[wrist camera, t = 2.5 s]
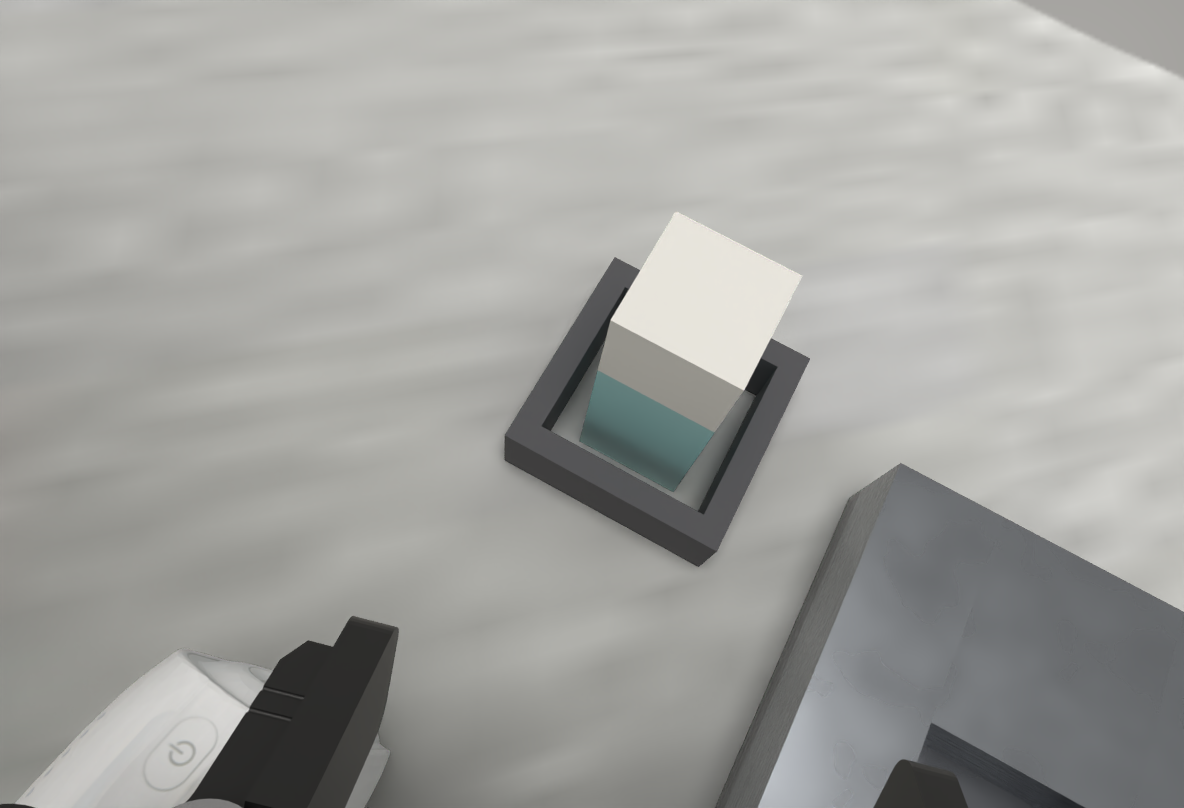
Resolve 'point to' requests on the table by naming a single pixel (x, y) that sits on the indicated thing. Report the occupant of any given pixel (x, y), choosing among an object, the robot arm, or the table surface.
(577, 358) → the dark grey square frame
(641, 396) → the plug
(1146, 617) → the block
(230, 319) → the table surface
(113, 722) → the photo printer
